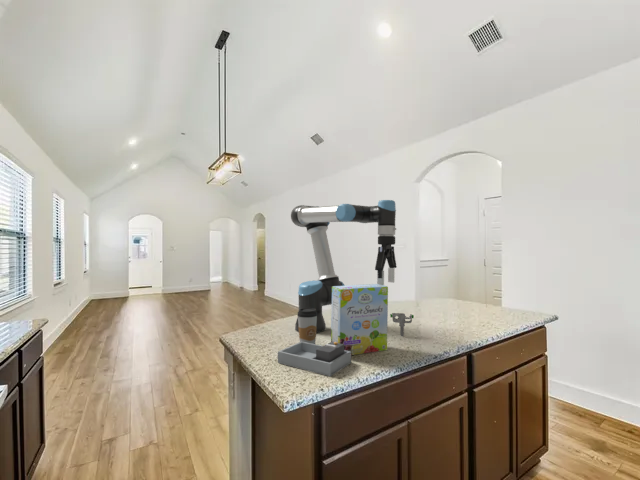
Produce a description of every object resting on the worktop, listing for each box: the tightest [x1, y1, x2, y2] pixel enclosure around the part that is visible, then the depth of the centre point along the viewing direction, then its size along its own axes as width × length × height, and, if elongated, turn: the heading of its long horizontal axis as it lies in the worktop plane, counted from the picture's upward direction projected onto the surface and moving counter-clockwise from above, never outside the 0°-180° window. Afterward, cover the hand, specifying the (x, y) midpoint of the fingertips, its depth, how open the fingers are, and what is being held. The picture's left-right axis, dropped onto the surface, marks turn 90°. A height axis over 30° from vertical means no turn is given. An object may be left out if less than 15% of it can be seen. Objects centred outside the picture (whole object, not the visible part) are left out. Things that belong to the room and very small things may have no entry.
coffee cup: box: [296, 308, 317, 344], centre depth 134 cm, size 8×8×15 cm
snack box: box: [330, 283, 389, 356], centre depth 127 cm, size 22×9×26 cm, turn 114°
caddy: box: [277, 341, 352, 377], centre depth 115 cm, size 22×14×4 cm, turn 57°
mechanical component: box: [389, 312, 414, 337], centre depth 147 cm, size 3×10×10 cm, turn 79°
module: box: [316, 341, 344, 363], centre depth 111 cm, size 5×10×7 cm, turn 147°
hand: (386, 284), depth 142 cm, fingers open, 13 cm apart
